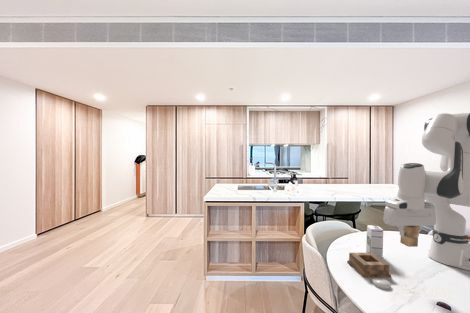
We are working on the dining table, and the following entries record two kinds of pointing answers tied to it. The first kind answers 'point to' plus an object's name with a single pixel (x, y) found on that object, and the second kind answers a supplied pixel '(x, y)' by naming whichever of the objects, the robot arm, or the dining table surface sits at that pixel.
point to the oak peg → (410, 236)
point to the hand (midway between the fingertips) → (409, 235)
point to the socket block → (369, 265)
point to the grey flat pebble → (381, 283)
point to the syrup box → (375, 240)
